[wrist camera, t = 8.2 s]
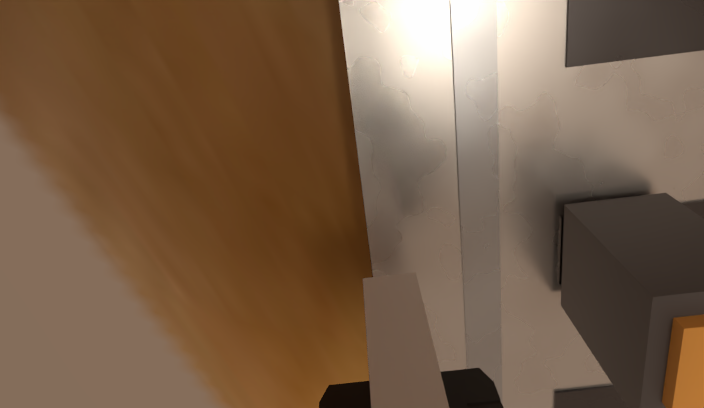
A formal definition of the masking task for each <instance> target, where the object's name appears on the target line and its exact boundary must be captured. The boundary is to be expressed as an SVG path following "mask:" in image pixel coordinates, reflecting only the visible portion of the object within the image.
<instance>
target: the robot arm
mask: <svg viewBox="0 0 704 408" xmlns="http://www.w3.org/2000/svg"><path fill="white" fill-rule="evenodd" d="M363 291H364V306H365V321H366V337H367V352H368V367H369V381H364V382H354V383H345V384H336V385H329V386H328V388H327V390H326V392H325V393H324V395H323V397H322V399H321V400H320V402H319V408H504V407H503V405H502V403H501V400H500V397H499V394H498V392H497V389H496V386H495V384H494V382H493V381H492V380H491V379H490V378H489V377H488V376H487V375H486V374H485V373H484V372H483V371H482V370H481V369H480V368H470V369H461V370H452V371H443V372H440V368H439V364H438V360H437V356H436V352H435V348H434V344H433V340H432V336H431V332H430V328H429V324H428V320H427V316H426V312H425V308H424V304H423V300H422V296H421V292H420V288H419V284H418V280H417V276H416V272H414V273H405V274H397V275H388V276H379V277H371V278H363Z"/></svg>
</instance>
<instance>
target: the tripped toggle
mask: <svg viewBox="0 0 704 408" xmlns="http://www.w3.org/2000/svg"><path fill="white" fill-rule="evenodd" d="M561 306H562V308H563V310H564V311H565V313H566V314H567V316H568V317H569V319H570V320H571V322H572V323H573V325H574V326H575V328H576V329H577V331H578V332H579V334H580V335H581V337H582V339H583V340H584V342H585V343H586V345H587V346H588V348H589V349H590V351H591V352H592V354H593V355H594V357H595V358H596V360H597V361H598V363H599V364H600V366H601V368H602V369H603V371H604V372H605V374H606V375H607V377H608V378H609V380H610V381H611V383H612V384H613V386H614V387H615V389H616V390H617V392H618V393H619V395H620V397H621V398H622V400H623V401H624V403H625V404H626V406H627V407H628V408H704V218H702V217H701V216H699V215H698V214H697V213H695V212H694V211H692V210H691V209H689V208H688V207H686V206H685V205H683V204H682V203H680V202H679V201H677V200H676V199H674V198H673V197H672V196H670V195H669V194H667V193H658V194H650V195H641V196H633V197H624V198H616V199H607V200H599V201H590V202H582V203H573V204H565V205H564V228H563V255H562V282H561Z"/></svg>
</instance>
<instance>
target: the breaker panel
mask: <svg viewBox="0 0 704 408" xmlns="http://www.w3.org/2000/svg"><path fill="white" fill-rule="evenodd" d="M339 7H340V15H341V23H342V31H343V39H344V47H345V55H346V63H347V72H348V80H349V88H350V96H351V104H352V112H353V120H354V128H355V136H356V144H357V152H358V160H359V168H360V176H361V184H362V192H363V200H364V209H365V217H366V225H367V233H368V241H369V249H370V257H371V265H372V273H373V277H379V276H388V275H397V274H405V273H414V272H416V276H417V280H418V284H419V288H420V292H421V296H422V300H423V304H424V308H425V312H426V316H427V320H428V324H429V328H430V332H431V336H432V340H433V344H434V348H435V352H436V356H437V360H438V364H439V368H440V372H443V371H452V370H461V369H470V368H480V369H481V370H482V371H483V372H484V373H485V374H486V375H487V376H488V377H489V378H490V379H491V380H492V381H493V382H494V384H495V386H496V389H497V392H498V394H499V397H500V400H501V403H502V405H503V407H504V408H628V407H627V406H626V404H625V403H624V401H623V400H622V398H621V397H620V395H619V393H618V392H617V390H616V389H615V387H614V386H613V384H612V383H611V381H610V380H609V378H608V377H607V375H606V374H605V372H604V371H603V369H602V368H601V366H600V364H599V363H598V361H597V360H596V358H595V357H594V355H593V354H592V352H591V351H590V349H589V348H588V346H587V345H586V343H585V342H584V340H583V339H582V337H581V335H580V334H579V332H578V331H577V329H576V328H575V326H574V325H573V323H572V322H571V320H570V319H569V317H568V316H567V314H566V313H565V311H564V310H563V308H562V306H561V282H562V255H563V228H564V205H565V204H573V203H582V202H590V201H599V200H607V199H616V198H624V197H633V196H641V195H650V194H658V193H667V194H669V195H670V196H672V197H673V198H674V199H676V200H677V201H679V202H680V203H682V204H683V205H685V206H686V207H688V208H689V209H691V210H692V211H694V212H695V213H697V214H698V215H699V216H701V217H702V218H704V0H339Z"/></svg>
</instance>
